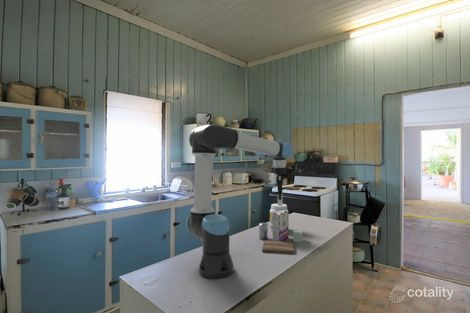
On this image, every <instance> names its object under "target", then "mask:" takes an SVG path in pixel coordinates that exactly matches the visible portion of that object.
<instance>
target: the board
mask: <svg viewBox="0 0 470 313" xmlns="http://www.w3.org/2000/svg"><path fill="white" fill-rule="evenodd" d="M261 249H262V251H261V252H262V253H269V254H284V255H286V254H289V255H294V254H295V250H294V249H295V248H294V241H289V240H288V241H287V240H286V241H285V240H284V241H273V240H269V239H267V240H263V244H262V248H261Z"/></svg>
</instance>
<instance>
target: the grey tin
mask: <svg viewBox="0 0 470 313" xmlns="http://www.w3.org/2000/svg"><path fill="white" fill-rule="evenodd" d="M268 227H269V226H268V223H267V222H259V223H258V234H259V235H258V239H259V240H261V241H264V240H269V238H268V237H269V236H268V235H269V234H268Z"/></svg>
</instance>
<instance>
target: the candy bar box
mask: <svg viewBox="0 0 470 313" xmlns="http://www.w3.org/2000/svg"><path fill="white" fill-rule="evenodd" d="M288 221H289V210H288V211H285V210H280V211H277V212H275V213H273V214H272V225H273V231H272V241H285V240H286V239H288V238H289V229H288Z"/></svg>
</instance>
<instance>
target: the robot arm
mask: <svg viewBox="0 0 470 313" xmlns="http://www.w3.org/2000/svg"><path fill="white" fill-rule="evenodd" d="M188 142H189V143H188V144H189V146H190V148H191V153H192V155H193V156H194V158H195V159H194V182H193V184H194V187H193V207H192V208H190V212H189V216H187V219H186V223H185V226H186V229H187V231H188V233H189V234H190V235H191V236H192V237H194V238H195V239H198V240H199V241H201V242H202V255H201V258H200V259H201V260H200V262H199V265H198V273H199V275H200V276H201V277H203V278H205V279H211V280H213V279H214V280H215V279H217V280H218V279H223V278H226V277H229V276H231V275H232V274H233V273H234V272H235V271H234V270H235V268H234V261H233V259H232V256H231V252H230V222H229V219H228V217H226V216H224V215H222V214H218V213H217V214H215V209H214V207H212V203H213V202H212V200H213V198H212V197H213V195H212V194H213V170H214V169H213V167H214V166H213V164H214V157H215V156H216V155H217V150H230V151H232V150H234V149H236V150H240V151H246V152H252V153H255V154H256V156H257V158H261V159H265V158H268V159H270V158H272V159H273V160H272V167H273V170H272V173H273V174H274V175H277V176H276V177H275V178H276V184H277V191H276V195H277V204H278V206H283V204H284V203H283V202H284V201H283V198H284V197H283V191H284V188H283V184H284V176H283V175H286V174H287V167H286V166H287V164H288V161H287V159H289V158H291V157H292V156H293V155H294V151H295V150H294V146H293V145H292V143H289V142H288V143H287V142H286V141H284V140H274V141H273V140H270V139H266V138H262V137H257V136H254V135H250V134H245V133H242V132H239V131H238V130H237V129H235V128H231V127H228V126H223V125H220V124H214V123H211V124H207V125H200V126H198V127H196V128H194V129H193V130H191V132H190V134H189V136H188Z"/></svg>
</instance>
